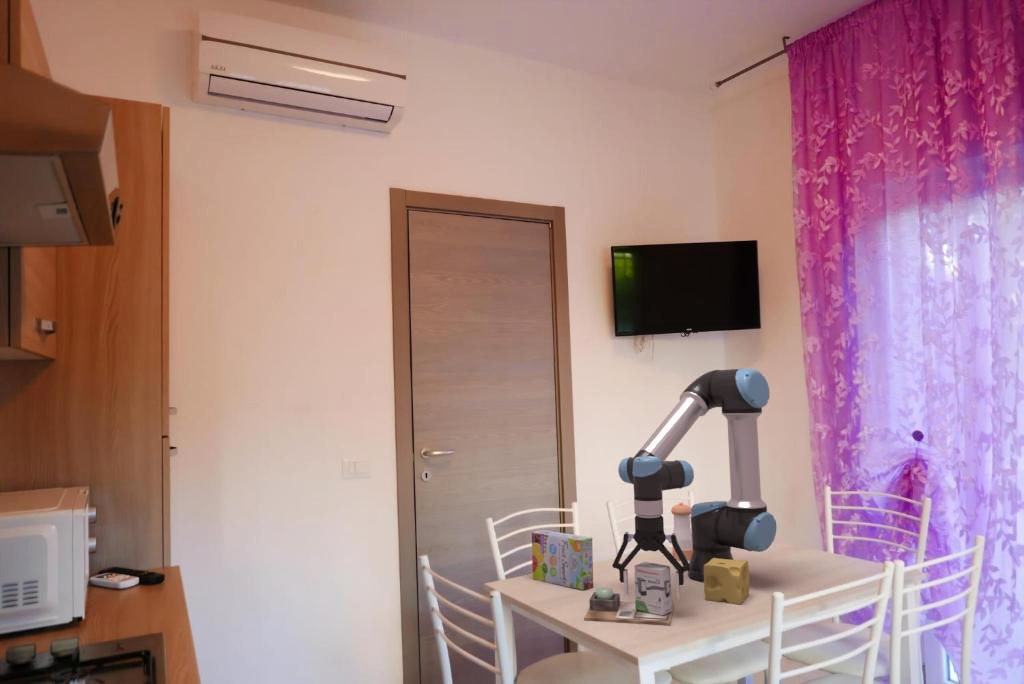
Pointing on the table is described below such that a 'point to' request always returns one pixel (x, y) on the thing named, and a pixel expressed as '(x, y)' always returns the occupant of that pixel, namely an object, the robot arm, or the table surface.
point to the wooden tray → (623, 612)
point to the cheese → (726, 580)
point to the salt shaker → (682, 529)
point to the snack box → (562, 559)
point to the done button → (604, 593)
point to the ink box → (653, 588)
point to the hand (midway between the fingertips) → (652, 596)
